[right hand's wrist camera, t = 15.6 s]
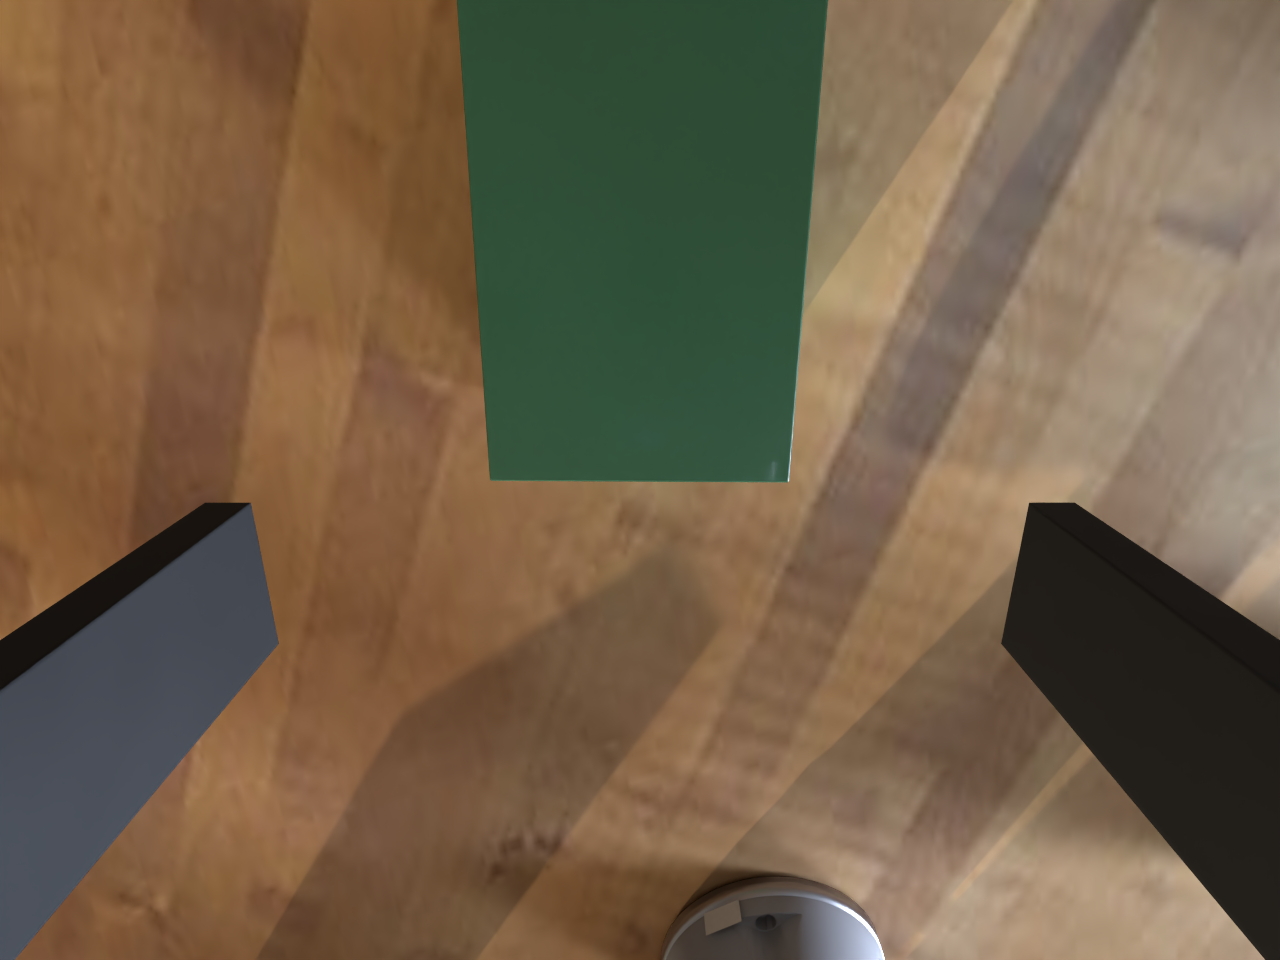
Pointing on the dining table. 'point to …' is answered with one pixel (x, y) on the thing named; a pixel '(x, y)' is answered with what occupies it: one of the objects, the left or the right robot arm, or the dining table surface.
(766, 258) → the cabinet
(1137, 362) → the dining table surface
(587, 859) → the dining table surface
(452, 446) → the dining table surface
